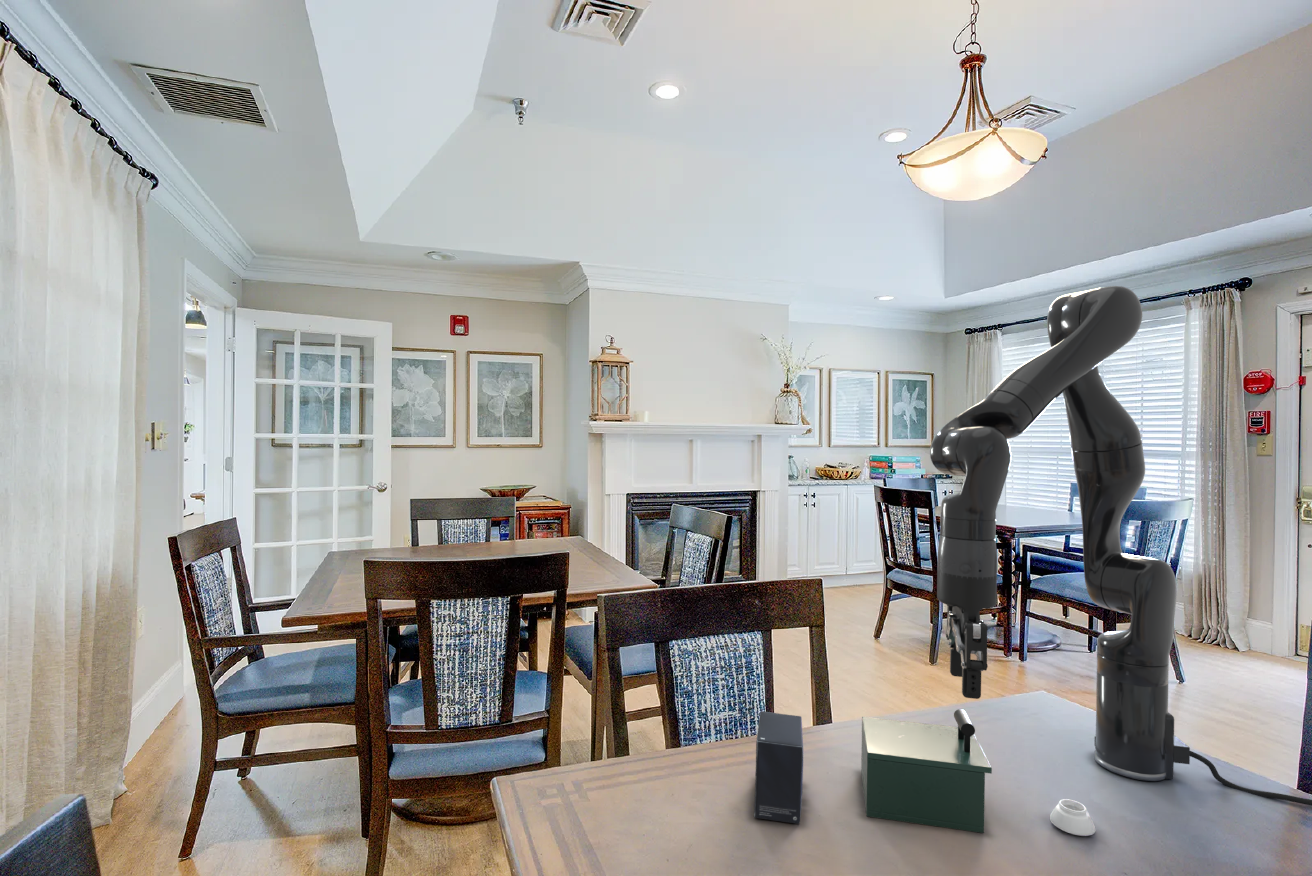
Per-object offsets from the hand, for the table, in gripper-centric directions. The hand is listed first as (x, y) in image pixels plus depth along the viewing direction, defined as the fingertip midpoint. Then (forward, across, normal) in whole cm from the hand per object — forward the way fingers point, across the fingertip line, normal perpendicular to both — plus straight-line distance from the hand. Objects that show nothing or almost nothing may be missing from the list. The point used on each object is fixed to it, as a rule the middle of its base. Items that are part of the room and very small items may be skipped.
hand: (964, 686), depth 93 cm
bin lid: (+9, 0, +5) cm, 11 cm away
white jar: (+17, -1, -13) cm, 22 cm away
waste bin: (+17, 0, +6) cm, 18 cm away
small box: (+17, -5, +25) cm, 31 cm away
